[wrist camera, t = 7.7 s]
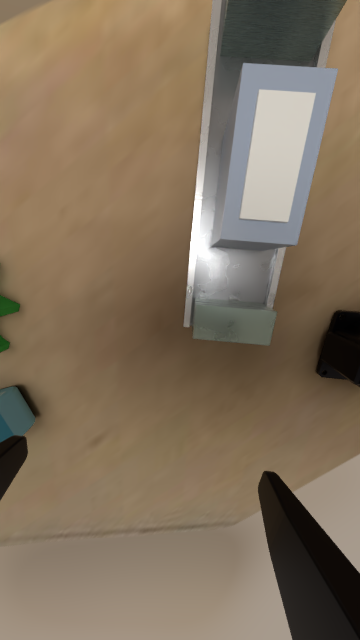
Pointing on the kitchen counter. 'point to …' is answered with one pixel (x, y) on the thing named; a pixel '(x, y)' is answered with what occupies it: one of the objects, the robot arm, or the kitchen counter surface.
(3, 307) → the pipe clamp
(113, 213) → the kitchen counter surface
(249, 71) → the block
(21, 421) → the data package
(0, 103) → the kitchen counter surface
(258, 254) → the rail
